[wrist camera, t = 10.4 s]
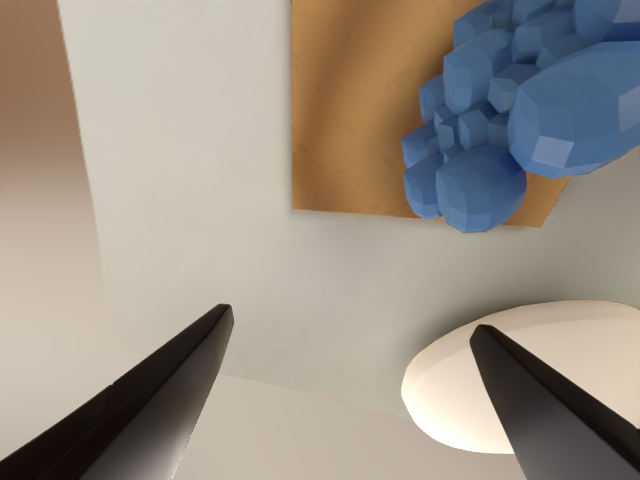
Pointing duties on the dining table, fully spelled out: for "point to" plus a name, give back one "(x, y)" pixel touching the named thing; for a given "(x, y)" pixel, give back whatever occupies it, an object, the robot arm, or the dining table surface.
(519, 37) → the grapes
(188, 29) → the dining table surface
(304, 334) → the dining table surface
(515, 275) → the dining table surface
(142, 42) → the dining table surface
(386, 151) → the bamboo board
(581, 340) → the plate
